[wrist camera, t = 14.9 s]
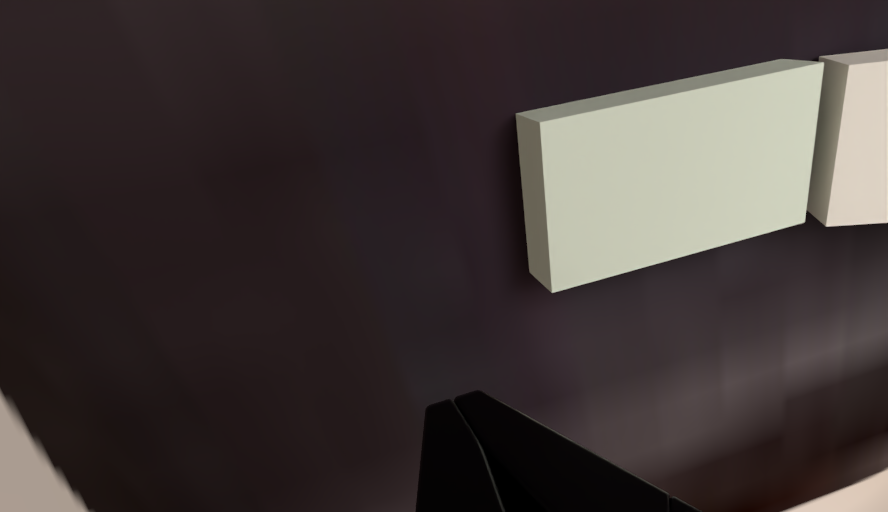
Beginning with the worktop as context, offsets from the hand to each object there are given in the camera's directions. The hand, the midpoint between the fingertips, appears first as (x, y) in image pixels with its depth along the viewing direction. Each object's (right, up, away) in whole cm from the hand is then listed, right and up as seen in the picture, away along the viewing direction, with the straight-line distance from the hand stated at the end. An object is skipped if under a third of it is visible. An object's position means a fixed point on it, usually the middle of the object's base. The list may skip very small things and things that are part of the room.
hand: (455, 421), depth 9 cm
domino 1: (+2, +4, +8) cm, 10 cm away
